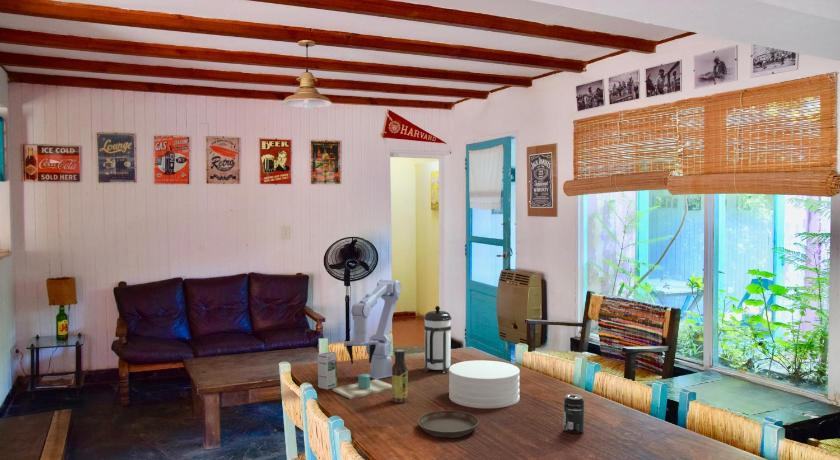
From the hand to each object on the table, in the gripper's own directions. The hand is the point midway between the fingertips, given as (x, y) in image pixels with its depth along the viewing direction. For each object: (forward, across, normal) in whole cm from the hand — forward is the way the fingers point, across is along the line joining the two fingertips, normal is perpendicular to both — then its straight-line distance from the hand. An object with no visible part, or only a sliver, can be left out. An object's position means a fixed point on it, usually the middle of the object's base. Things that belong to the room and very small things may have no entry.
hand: (361, 362), depth 266 cm
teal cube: (+8, +1, -8) cm, 11 cm away
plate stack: (+10, +48, -24) cm, 55 cm away
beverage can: (+10, +69, -65) cm, 95 cm away
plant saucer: (+10, +27, -57) cm, 64 cm away
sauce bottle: (+10, +14, -24) cm, 30 cm away
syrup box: (+10, -14, -1) cm, 17 cm away
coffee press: (+10, +36, +17) cm, 41 cm away
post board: (+9, +1, -8) cm, 12 cm away
